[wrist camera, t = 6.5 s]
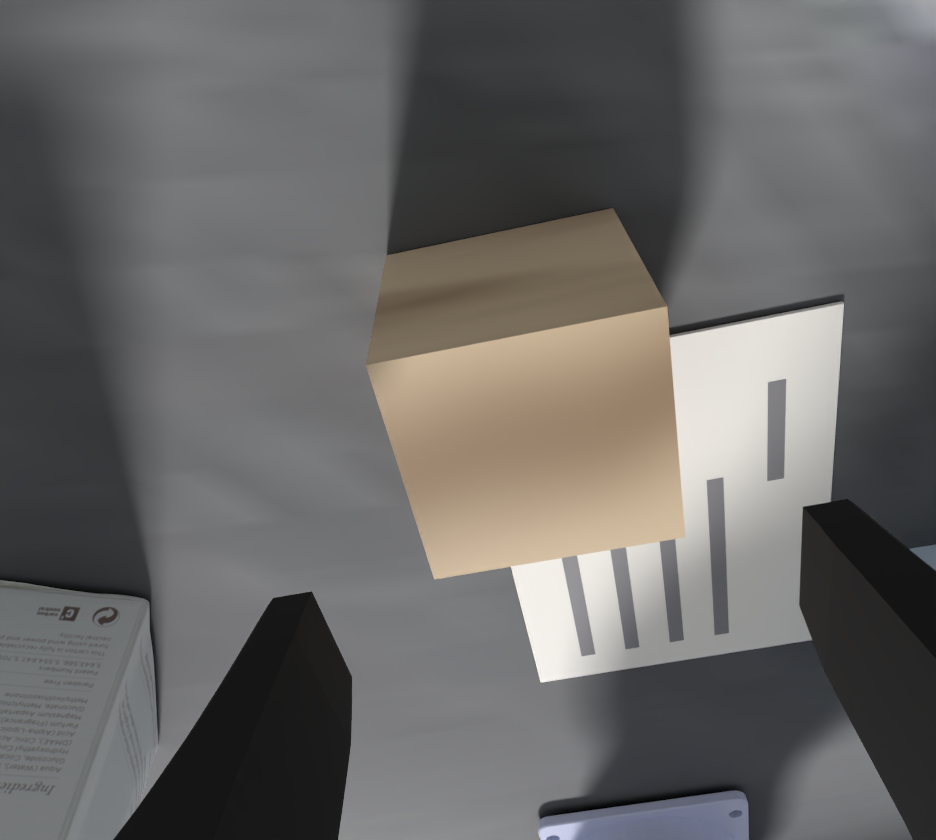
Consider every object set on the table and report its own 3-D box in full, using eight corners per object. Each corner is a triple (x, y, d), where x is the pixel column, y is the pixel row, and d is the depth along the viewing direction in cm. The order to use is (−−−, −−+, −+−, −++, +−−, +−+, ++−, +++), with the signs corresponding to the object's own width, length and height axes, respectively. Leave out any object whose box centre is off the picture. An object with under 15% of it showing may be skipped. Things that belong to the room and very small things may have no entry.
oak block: (634, 402, 20) (685, 537, 15) (437, 438, 20) (434, 579, 16) (613, 207, 17) (666, 306, 13) (386, 255, 17) (365, 365, 13)
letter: (820, 635, 25) (821, 638, 25) (540, 679, 26) (540, 682, 26) (842, 301, 18) (844, 303, 18) (462, 376, 19) (462, 379, 19)
